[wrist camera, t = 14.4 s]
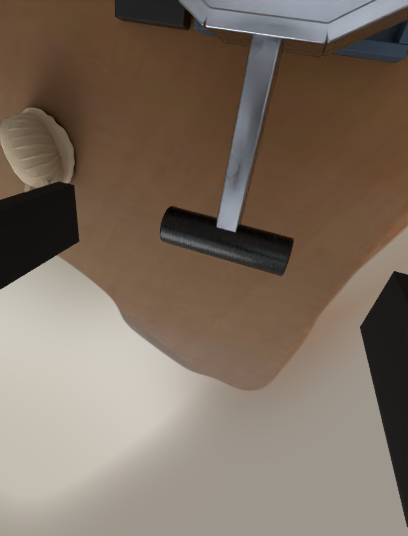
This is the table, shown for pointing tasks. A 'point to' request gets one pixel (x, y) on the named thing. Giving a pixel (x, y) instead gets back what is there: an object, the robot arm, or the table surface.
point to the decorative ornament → (37, 148)
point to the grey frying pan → (266, 106)
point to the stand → (153, 13)
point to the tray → (368, 44)
